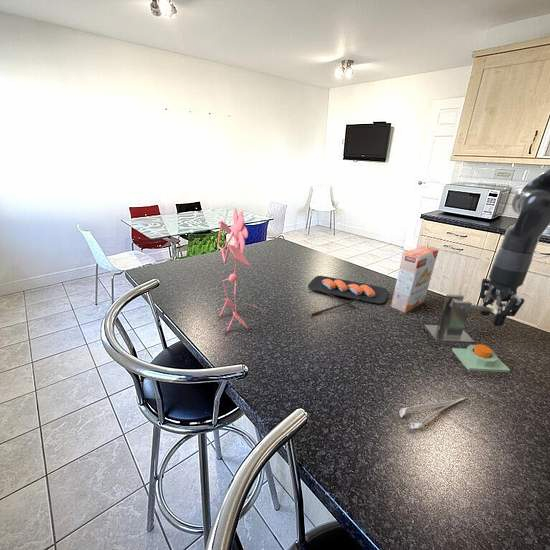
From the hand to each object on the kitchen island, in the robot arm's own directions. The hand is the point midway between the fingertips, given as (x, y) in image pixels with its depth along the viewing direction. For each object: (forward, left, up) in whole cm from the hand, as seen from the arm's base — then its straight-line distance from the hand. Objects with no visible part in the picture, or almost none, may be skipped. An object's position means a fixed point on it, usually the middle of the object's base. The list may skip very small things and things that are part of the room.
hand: (490, 319), depth 85 cm
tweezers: (+27, +28, -7) cm, 39 cm away
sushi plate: (+39, -20, -7) cm, 44 cm away
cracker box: (+16, -18, -7) cm, 25 cm away
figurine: (+73, -5, -7) cm, 73 cm away
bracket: (+11, 0, -6) cm, 13 cm away
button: (+9, +12, -3) cm, 15 cm away
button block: (+9, +12, -6) cm, 16 cm away
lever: (+6, 0, +3) cm, 6 cm away
